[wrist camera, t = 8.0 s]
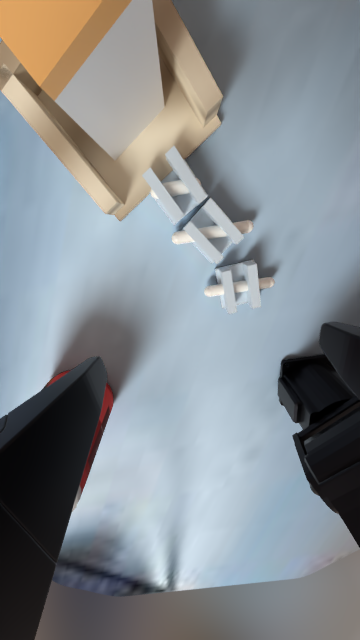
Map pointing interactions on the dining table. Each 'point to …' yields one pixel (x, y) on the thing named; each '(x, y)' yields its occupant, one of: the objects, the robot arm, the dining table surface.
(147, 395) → the dining table surface
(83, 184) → the holder
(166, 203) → the clip
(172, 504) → the dining table surface
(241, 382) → the dining table surface
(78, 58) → the orange-topped block
